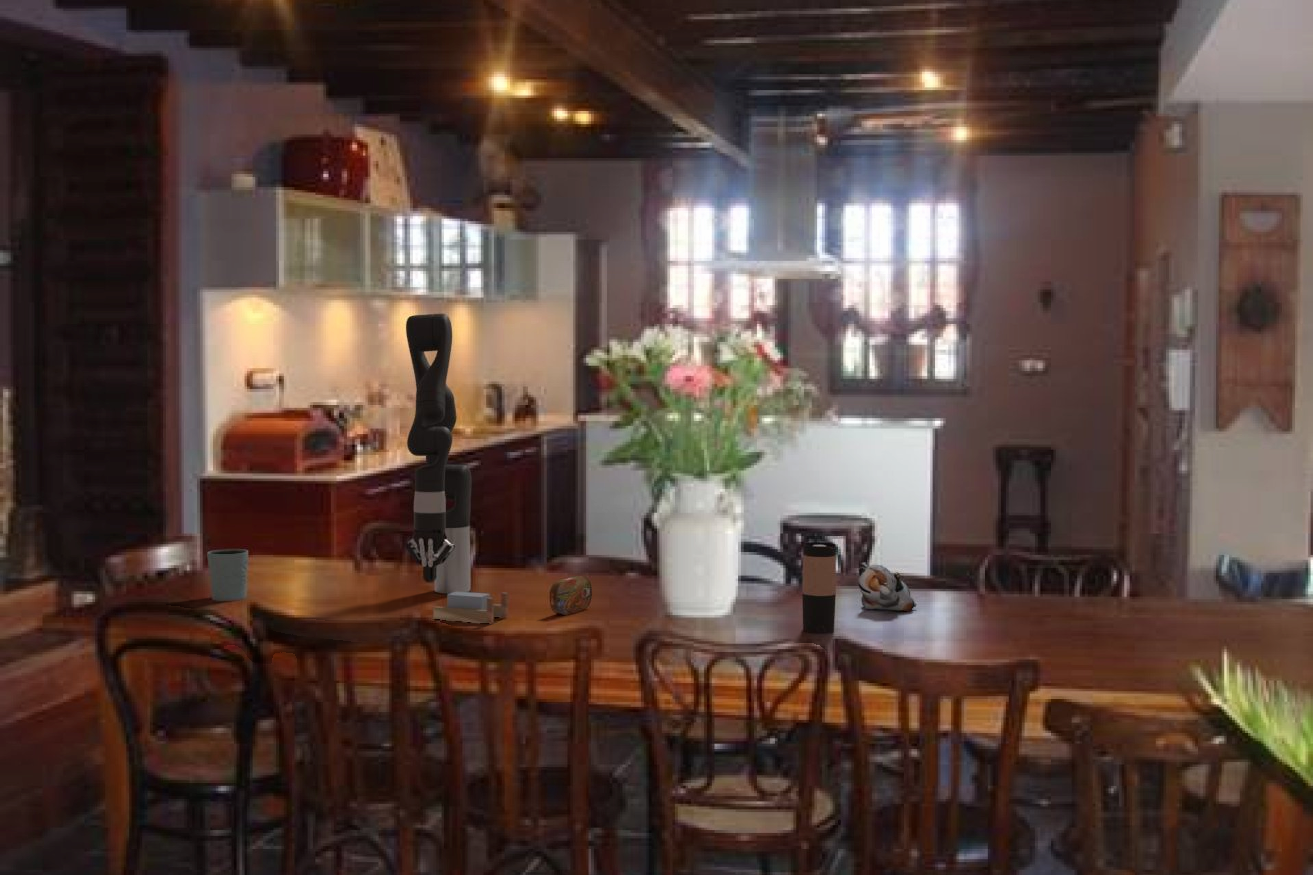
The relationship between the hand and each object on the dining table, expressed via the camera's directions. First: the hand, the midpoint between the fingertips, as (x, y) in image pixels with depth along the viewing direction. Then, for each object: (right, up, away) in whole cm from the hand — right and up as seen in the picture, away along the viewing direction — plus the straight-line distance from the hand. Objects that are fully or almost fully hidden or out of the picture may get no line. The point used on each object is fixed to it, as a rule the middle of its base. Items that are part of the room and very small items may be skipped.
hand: (429, 581), depth 367 cm
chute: (+10, -9, -2) cm, 13 cm away
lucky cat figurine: (+111, -8, +13) cm, 112 cm away
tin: (+33, -8, +7) cm, 35 cm away
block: (+10, -9, -2) cm, 13 cm away
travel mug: (+92, -10, -14) cm, 93 cm away
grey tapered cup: (-55, -7, +23) cm, 60 cm away
